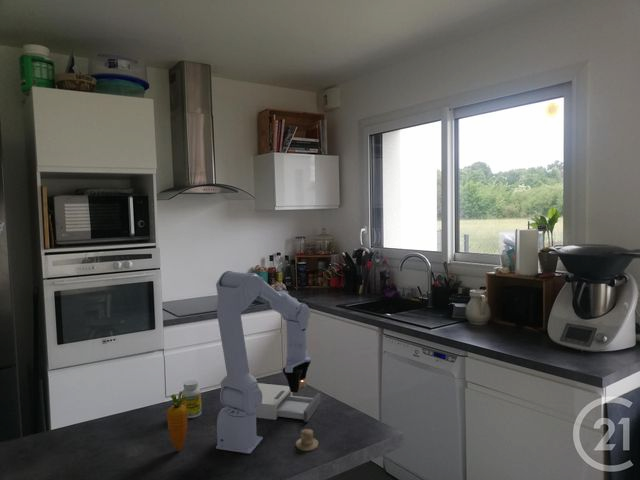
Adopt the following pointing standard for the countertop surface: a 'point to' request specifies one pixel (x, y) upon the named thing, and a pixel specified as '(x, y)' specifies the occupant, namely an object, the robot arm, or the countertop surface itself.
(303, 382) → the disc
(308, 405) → the tray
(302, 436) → the stand
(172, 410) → the carrot
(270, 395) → the player
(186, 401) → the supplement bottle
